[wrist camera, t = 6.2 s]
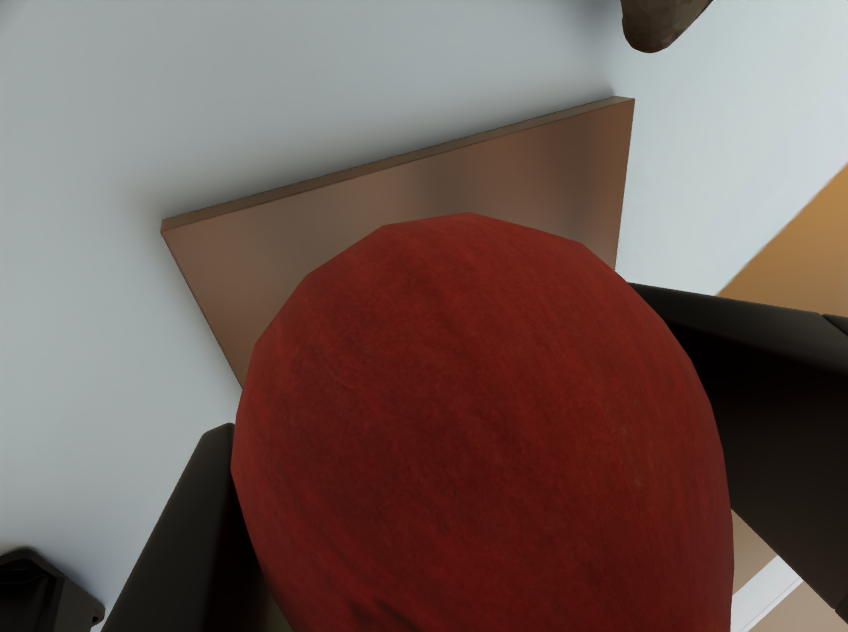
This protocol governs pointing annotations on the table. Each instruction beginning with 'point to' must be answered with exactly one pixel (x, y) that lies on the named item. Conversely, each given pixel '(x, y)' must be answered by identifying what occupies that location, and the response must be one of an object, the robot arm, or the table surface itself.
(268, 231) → the cutting board
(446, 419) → the red fruit
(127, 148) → the table surface
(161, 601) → the robot arm
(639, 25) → the rock
